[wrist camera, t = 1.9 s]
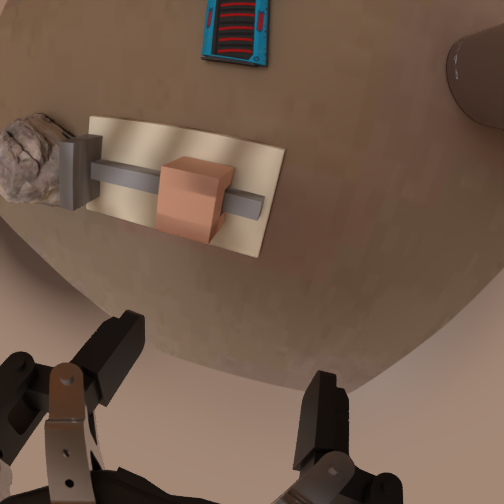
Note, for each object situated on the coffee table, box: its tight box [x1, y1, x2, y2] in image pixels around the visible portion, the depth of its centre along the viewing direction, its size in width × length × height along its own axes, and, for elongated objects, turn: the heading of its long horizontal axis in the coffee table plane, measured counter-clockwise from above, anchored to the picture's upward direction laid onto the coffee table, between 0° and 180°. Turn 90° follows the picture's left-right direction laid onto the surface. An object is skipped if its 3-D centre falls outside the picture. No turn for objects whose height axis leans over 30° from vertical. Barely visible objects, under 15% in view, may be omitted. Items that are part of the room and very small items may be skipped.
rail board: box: [59, 115, 286, 258], centre depth 28 cm, size 21×11×6 cm, turn 77°
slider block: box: [155, 156, 234, 245], centre depth 27 cm, size 5×6×5 cm
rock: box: [0, 113, 75, 207], centre depth 28 cm, size 15×12×10 cm
